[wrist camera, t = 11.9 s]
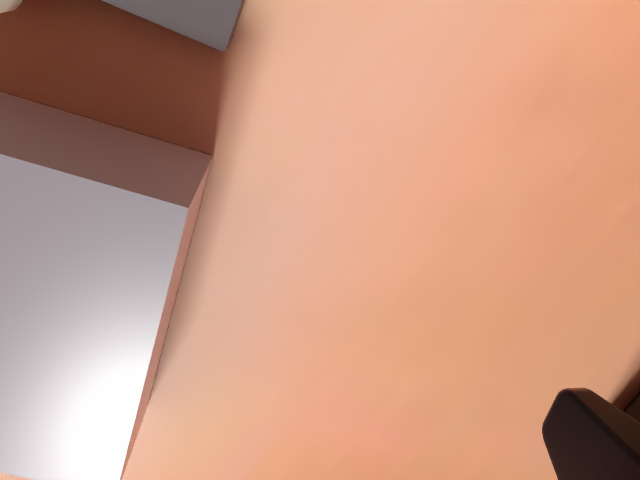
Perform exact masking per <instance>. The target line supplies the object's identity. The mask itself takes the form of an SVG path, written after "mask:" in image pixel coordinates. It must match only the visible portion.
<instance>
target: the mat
mask: <svg viewBox="0 0 640 480" xmlns="http://www.w3.org/2000/svg"><path fill="white" fill-rule="evenodd" d="M101 1H104V2H106V3H108V4H111V5H113V6H116V7H118V8H120V9H123V10H125V11H127V12H130V13H132V14H135V15H137V16H139V17H142V18H144V19H146V20H149V21H151V22H153V23H156V24H158V25H161V26H163V27H165V28H168V29H170V30H172V31H175V32H177V33H179V34H182V35H184V36H187V37H189V38H191V39H194V40H196V41H198V42H201V43H203V44H206V45H208V46H210V47H213V48H215V49H217V50H220V51H222V52H225V51H226V50H227V48H228V47H229V45H230V42H231V39H232V36H233V33H234V30H235V27H236V24H237V21H238V18H239V16H240V13H241V10H242V7H243V4H244V1H245V0H101Z"/></svg>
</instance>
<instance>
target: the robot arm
mask: <svg viewBox="0 0 640 480" xmlns="http://www.w3.org/2000/svg"><path fill="white" fill-rule="evenodd" d="M542 434H543V439H544V442H545V445H546V448H547V450H548V453H549V456H550V459H551V461H552V464H553V467H554V470H555V472H556V475H557V478H558V480H640V392H639V393H638V394H637V395H636V396H635V398H634V399H633V400H632V401H631V403H630V404H629V405H628V406H627V407H626V409H625V410H624V411H621V410H620V409H618V408H617V407H615V406H614V405H612V404H611V403H609V402H608V401H606V400H605V399H603V398H602V397H600V396H599V395H597V394H596V393H594V392H593V391H591V390H589V389H586V388H567V389H563V390H561V391H560V392H559V393H558V394H557V396H556V398H555V400H554V402H553V404H552V406H551V408H550V410H549V412H548V414H547V416H546V418H545V420H544V422H543V427H542Z"/></svg>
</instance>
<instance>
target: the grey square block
mask: <svg viewBox="0 0 640 480" xmlns="http://www.w3.org/2000/svg"><path fill="white" fill-rule="evenodd" d="M212 158H213V156H212V155H208V154H205V153H202V152H198V151H195V150H192V149H188V148H185V147H182V146H179V145H175V144H172V143H169V142H165V141H162V140H159V139H155V138H152V137H149V136H146V135H142V134H139V133H136V132H132V131H129V130H126V129H123V128H119V127H116V126H113V125H109V124H106V123H103V122H99V121H96V120H93V119H90V118H86V117H83V116H80V115H76V114H73V113H70V112H66V111H63V110H60V109H57V108H53V107H50V106H47V105H43V104H40V103H37V102H34V101H30V100H27V99H24V98H20V97H17V96H14V95H10V94H7V93H4V92H1V91H0V473H4V474H9V475H13V476H18V477H23V478H28V479H33V480H122V477H123V474H124V471H125V468H126V465H127V463H128V460H129V457H130V454H131V451H132V448H133V446H134V443H135V440H136V437H137V434H138V431H139V429H140V426H141V423H142V420H143V417H144V414H145V412H146V409H147V406H148V402H149V398H150V394H151V391H152V387H153V383H154V379H155V375H156V372H157V368H158V364H159V360H160V356H161V352H162V349H163V345H164V341H165V337H166V333H167V330H168V326H169V322H170V318H171V314H172V310H173V307H174V303H175V299H176V295H177V291H178V288H179V284H180V280H181V276H182V272H183V269H184V265H185V261H186V257H187V253H188V249H189V246H190V242H191V238H192V234H193V230H194V227H195V223H196V219H197V215H198V211H199V207H200V204H201V200H202V196H203V192H204V188H205V185H206V181H207V177H208V173H209V169H210V165H211V162H212Z"/></svg>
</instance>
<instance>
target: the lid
mask: <svg viewBox="0 0 640 480" xmlns="http://www.w3.org/2000/svg"><path fill="white" fill-rule="evenodd" d="M22 2H23V0H0V13H3V12H8V11H14V10H16V9H17V8H18V7H19V5H20V4H21V3H22Z"/></svg>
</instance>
